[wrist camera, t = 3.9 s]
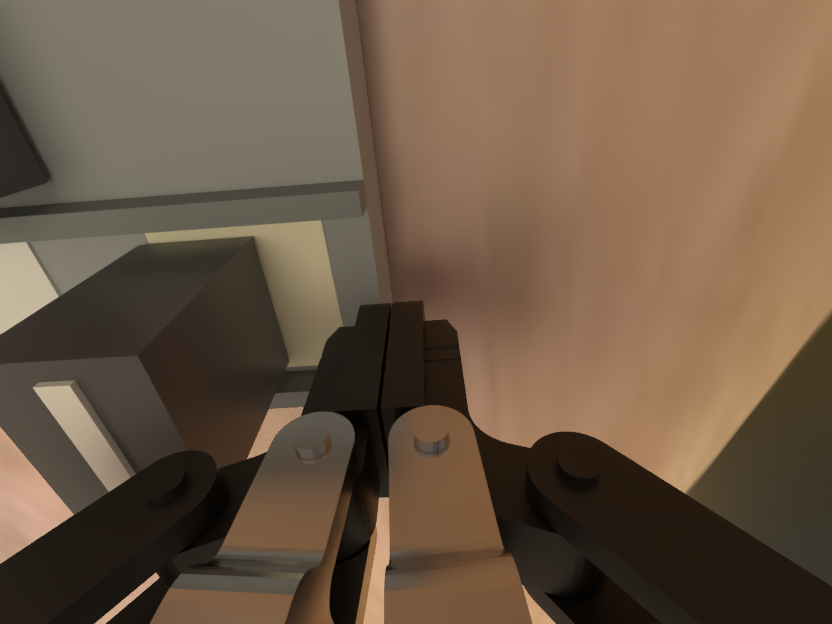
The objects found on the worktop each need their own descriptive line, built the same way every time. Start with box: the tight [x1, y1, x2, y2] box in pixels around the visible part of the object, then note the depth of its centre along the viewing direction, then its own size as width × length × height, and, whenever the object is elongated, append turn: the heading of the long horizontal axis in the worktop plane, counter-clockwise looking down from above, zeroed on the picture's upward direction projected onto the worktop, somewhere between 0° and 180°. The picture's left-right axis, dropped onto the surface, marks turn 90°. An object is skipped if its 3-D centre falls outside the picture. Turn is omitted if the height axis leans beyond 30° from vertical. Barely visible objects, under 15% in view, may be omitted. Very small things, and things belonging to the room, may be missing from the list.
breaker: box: [0, 237, 289, 515], centre depth 9 cm, size 3×4×5 cm
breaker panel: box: [0, 0, 393, 409], centre depth 11 cm, size 20×12×4 cm, turn 94°
